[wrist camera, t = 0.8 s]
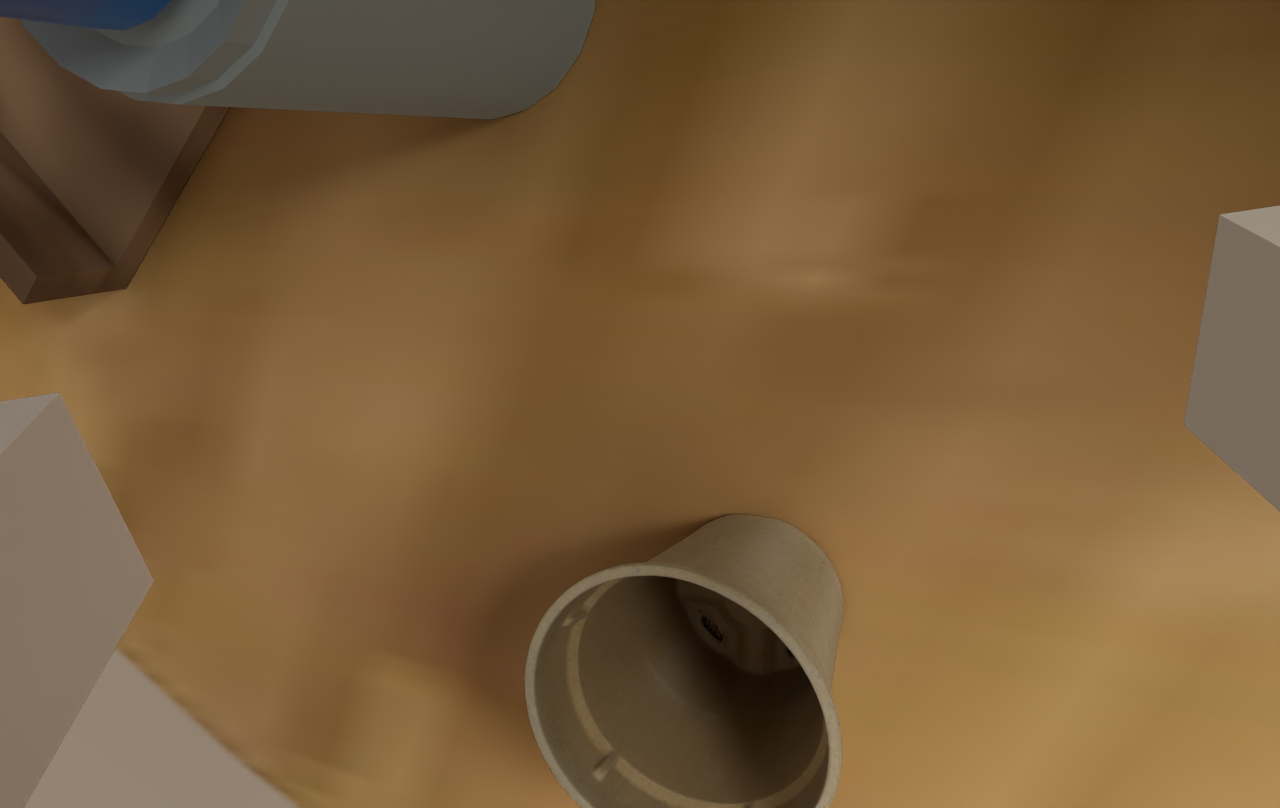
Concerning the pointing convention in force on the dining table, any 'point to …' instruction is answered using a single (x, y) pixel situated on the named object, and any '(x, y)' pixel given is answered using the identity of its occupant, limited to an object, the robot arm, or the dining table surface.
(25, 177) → the rest
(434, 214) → the dining table surface
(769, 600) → the flower pot
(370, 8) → the blue and grey bottle
